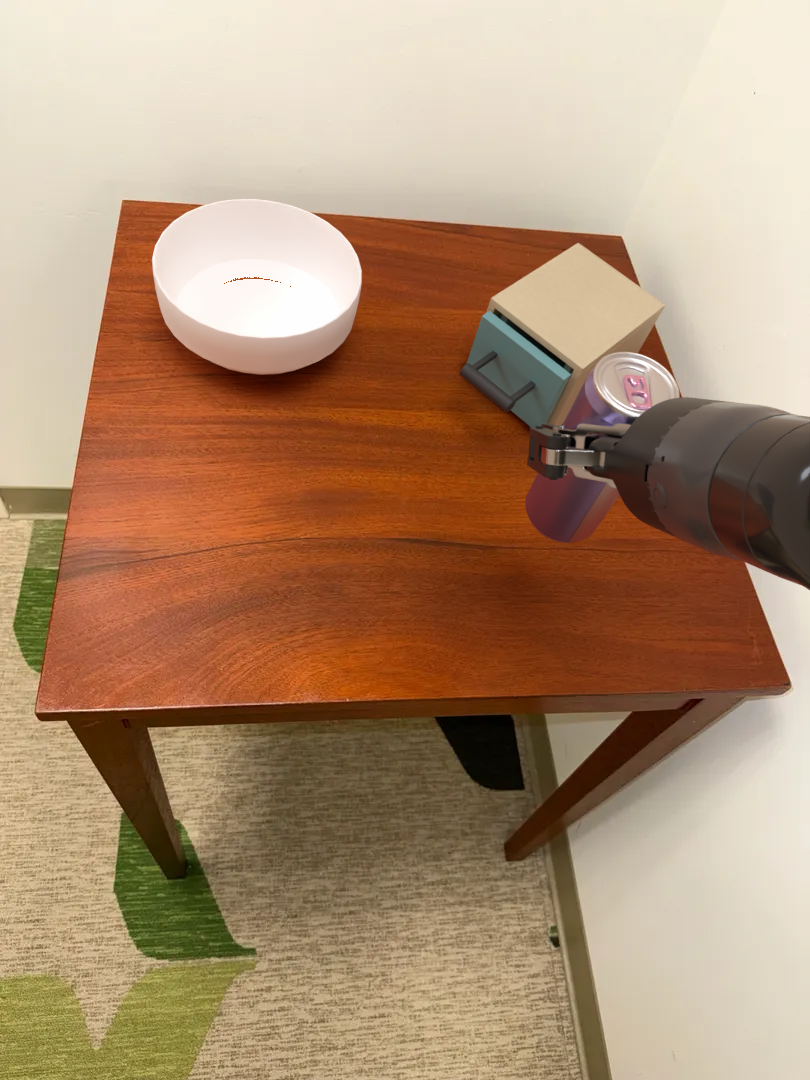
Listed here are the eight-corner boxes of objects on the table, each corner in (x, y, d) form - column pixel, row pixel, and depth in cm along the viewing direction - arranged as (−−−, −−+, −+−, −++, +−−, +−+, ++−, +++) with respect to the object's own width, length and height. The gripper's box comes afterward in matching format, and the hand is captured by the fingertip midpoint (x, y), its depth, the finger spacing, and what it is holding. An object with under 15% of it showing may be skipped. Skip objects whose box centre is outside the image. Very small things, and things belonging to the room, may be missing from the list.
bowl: (185, 252, 84) (179, 182, 77) (362, 284, 86) (371, 219, 79) (139, 383, 74) (126, 316, 67) (341, 417, 76) (350, 355, 68)
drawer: (509, 456, 75) (533, 403, 69) (433, 392, 78) (449, 336, 72) (612, 373, 84) (642, 319, 77) (540, 318, 87) (564, 262, 80)
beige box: (549, 434, 79) (583, 368, 71) (467, 367, 82) (490, 297, 74) (627, 371, 86) (665, 305, 78) (549, 311, 89) (578, 242, 81)
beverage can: (527, 545, 58) (599, 416, 46) (518, 481, 62) (584, 344, 49) (601, 549, 59) (692, 424, 47) (589, 486, 62) (672, 353, 50)
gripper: (856, 405, 40) (684, 390, 56) (595, 398, 37) (494, 383, 53) (831, 546, 41) (672, 491, 57) (581, 548, 39) (487, 490, 55)
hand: (587, 439), depth 55 cm, fingers closed on beverage can, 6 cm apart
